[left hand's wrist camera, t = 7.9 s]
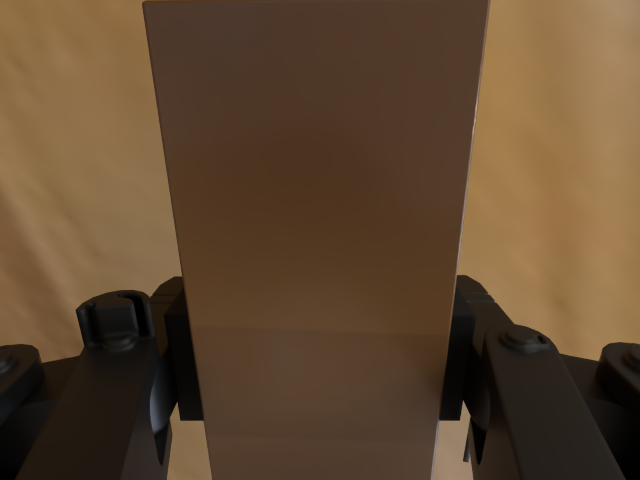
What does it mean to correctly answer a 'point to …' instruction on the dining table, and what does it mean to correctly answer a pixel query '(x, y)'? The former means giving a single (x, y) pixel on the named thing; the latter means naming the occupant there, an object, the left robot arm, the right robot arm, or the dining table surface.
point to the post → (318, 221)
